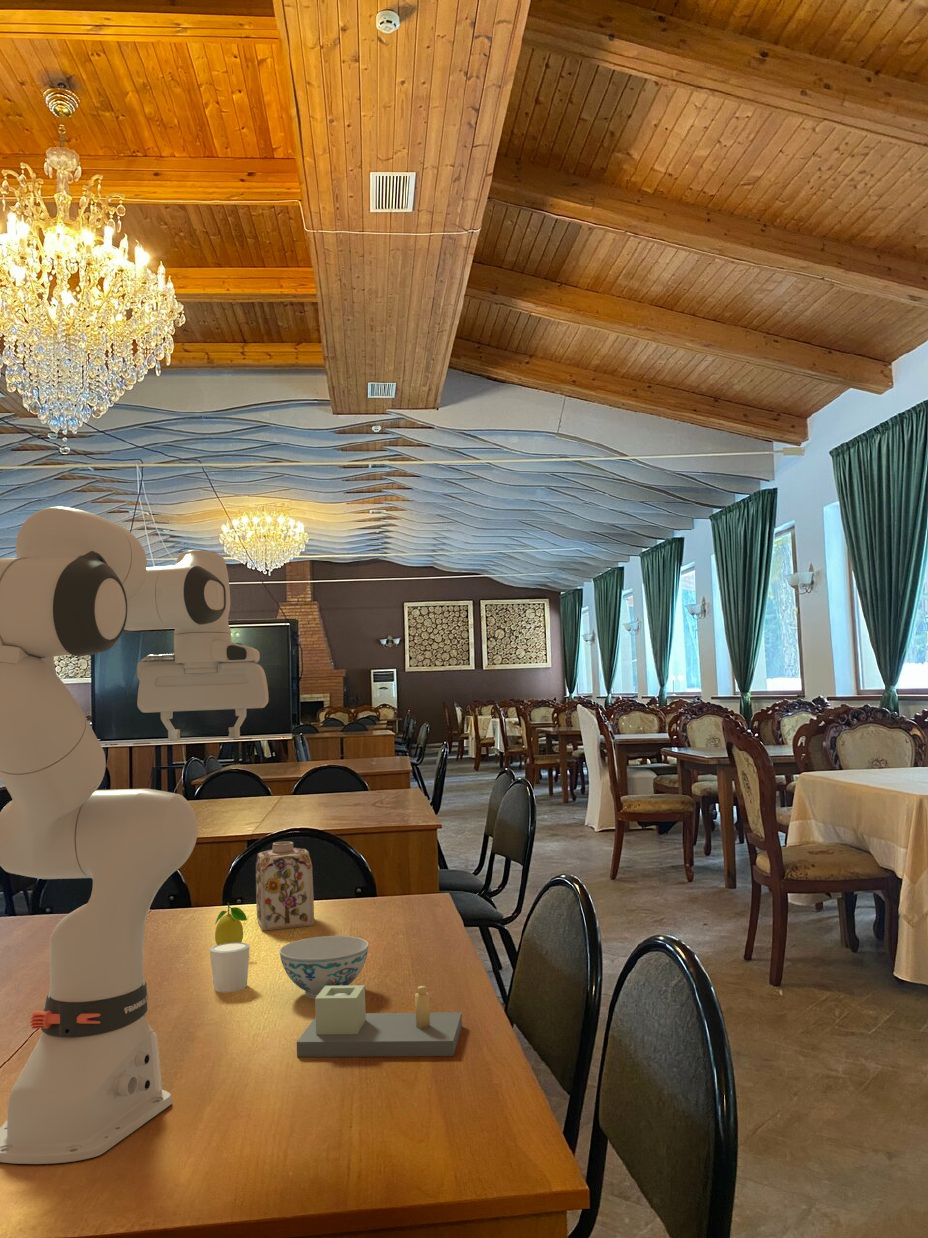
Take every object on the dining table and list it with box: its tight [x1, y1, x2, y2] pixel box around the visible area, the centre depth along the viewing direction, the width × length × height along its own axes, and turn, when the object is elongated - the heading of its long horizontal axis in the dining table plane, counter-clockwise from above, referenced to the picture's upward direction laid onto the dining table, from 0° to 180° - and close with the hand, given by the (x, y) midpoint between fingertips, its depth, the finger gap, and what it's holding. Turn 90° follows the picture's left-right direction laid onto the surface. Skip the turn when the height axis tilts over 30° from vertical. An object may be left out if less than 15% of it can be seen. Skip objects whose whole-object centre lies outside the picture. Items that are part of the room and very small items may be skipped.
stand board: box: [296, 985, 463, 1058], centre depth 139 cm, size 12×22×8 cm, turn 85°
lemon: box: [214, 902, 248, 945], centre depth 192 cm, size 7×6×10 cm
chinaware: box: [279, 935, 369, 1000], centre depth 163 cm, size 15×15×8 cm
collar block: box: [314, 984, 366, 1034], centre depth 139 cm, size 6×6×5 cm
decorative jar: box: [255, 841, 315, 932], centre depth 217 cm, size 12×12×18 cm
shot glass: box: [209, 942, 251, 993], centre depth 169 cm, size 7×7×7 cm
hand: (204, 739), depth 152 cm, fingers open, 8 cm apart
